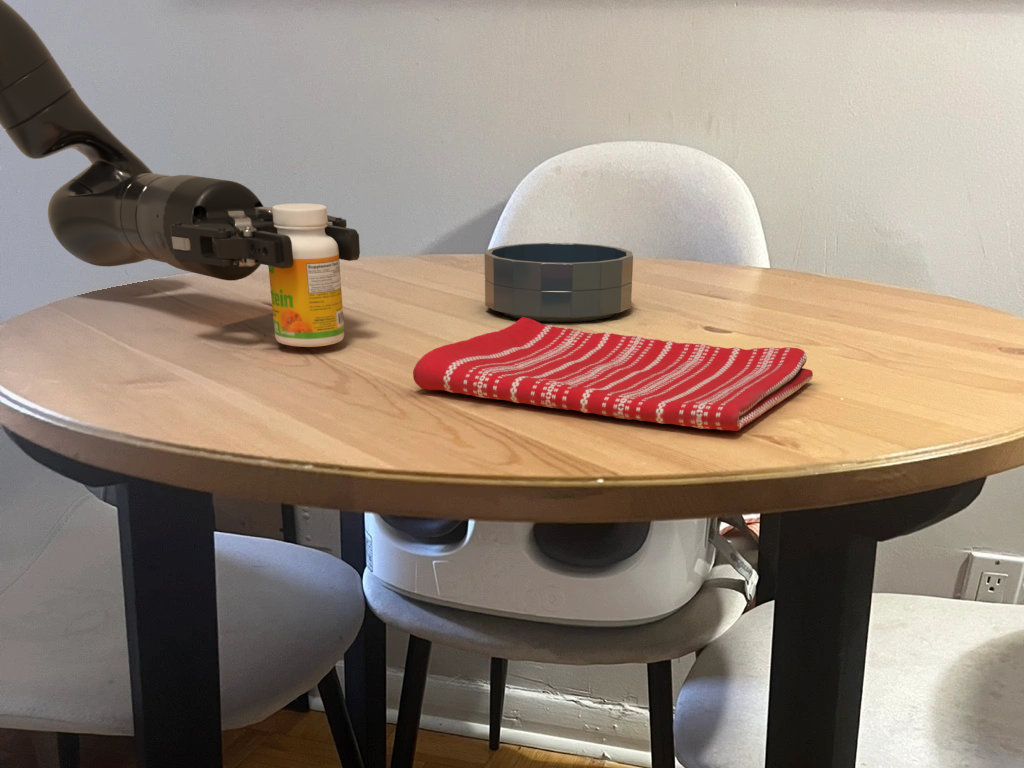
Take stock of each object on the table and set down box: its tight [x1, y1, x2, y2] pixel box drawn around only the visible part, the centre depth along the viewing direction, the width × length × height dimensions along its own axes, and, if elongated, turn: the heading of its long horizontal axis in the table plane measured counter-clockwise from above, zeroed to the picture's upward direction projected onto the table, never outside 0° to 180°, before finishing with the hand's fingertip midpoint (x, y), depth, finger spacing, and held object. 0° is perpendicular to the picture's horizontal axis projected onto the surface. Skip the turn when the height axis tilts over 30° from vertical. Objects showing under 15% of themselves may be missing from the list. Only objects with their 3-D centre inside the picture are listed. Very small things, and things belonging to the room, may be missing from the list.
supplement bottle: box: [267, 202, 345, 348], centre depth 88 cm, size 5×5×10 cm
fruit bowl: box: [484, 242, 634, 323], centre depth 104 cm, size 13×13×5 cm
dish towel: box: [412, 317, 814, 432], centre depth 80 cm, size 17×24×3 cm
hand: (322, 249), depth 86 cm, fingers closed on supplement bottle, 5 cm apart
